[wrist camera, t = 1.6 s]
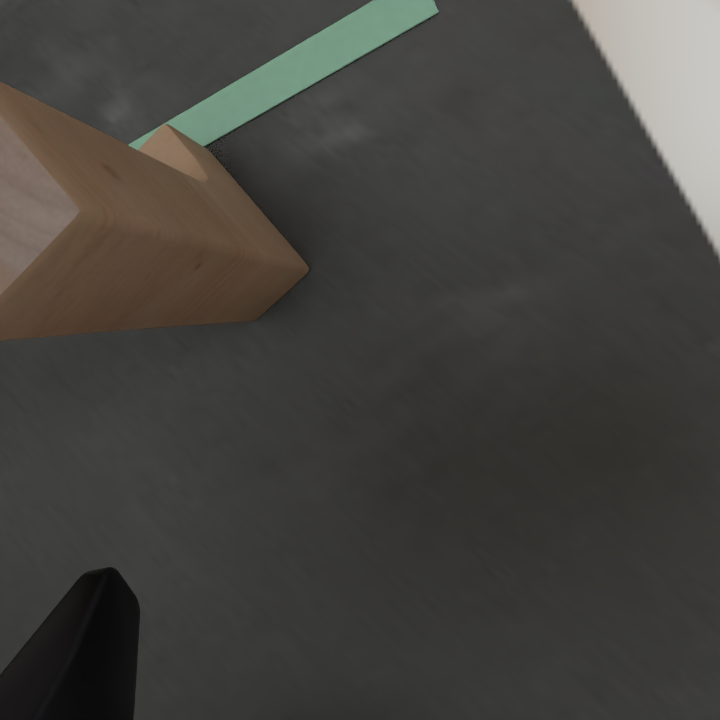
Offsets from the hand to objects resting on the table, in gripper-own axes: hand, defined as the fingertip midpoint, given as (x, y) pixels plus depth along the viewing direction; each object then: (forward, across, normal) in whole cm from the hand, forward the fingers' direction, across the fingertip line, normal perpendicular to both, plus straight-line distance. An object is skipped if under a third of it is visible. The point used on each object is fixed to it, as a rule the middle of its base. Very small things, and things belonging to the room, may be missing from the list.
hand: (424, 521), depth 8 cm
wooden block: (+18, +5, +2) cm, 18 cm away
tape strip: (+20, +6, -2) cm, 21 cm away
